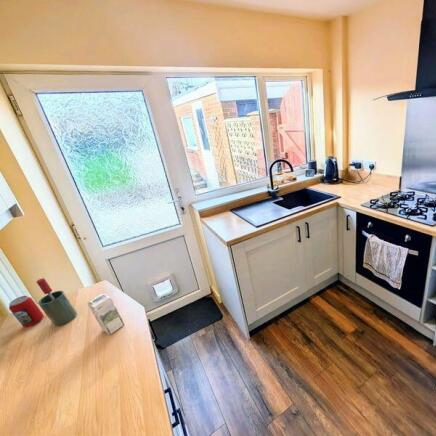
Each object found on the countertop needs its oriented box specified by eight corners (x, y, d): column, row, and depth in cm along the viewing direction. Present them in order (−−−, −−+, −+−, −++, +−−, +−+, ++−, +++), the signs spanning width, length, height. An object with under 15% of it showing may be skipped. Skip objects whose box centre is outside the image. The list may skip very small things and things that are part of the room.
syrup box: (118, 319, 100) (102, 292, 94) (125, 324, 97) (110, 296, 91) (102, 330, 96) (86, 302, 90) (110, 336, 93) (93, 307, 87)
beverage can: (19, 327, 102) (2, 305, 97) (37, 314, 108) (22, 293, 103) (30, 329, 101) (13, 307, 96) (48, 316, 107) (33, 295, 101)
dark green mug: (58, 329, 99) (42, 307, 94) (50, 322, 103) (35, 301, 98) (80, 315, 105) (66, 293, 100) (72, 309, 109) (59, 288, 104)
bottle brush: (61, 323, 101) (35, 285, 93) (57, 319, 103) (31, 282, 95) (73, 315, 104) (49, 278, 96) (69, 312, 107) (45, 275, 98)
